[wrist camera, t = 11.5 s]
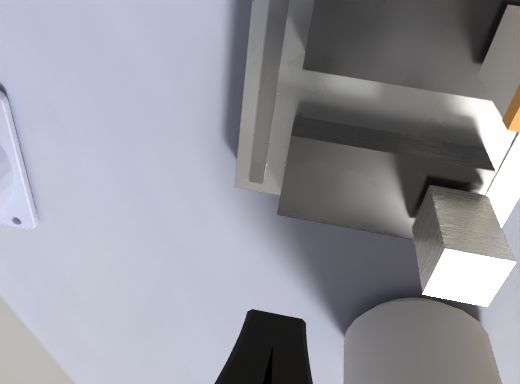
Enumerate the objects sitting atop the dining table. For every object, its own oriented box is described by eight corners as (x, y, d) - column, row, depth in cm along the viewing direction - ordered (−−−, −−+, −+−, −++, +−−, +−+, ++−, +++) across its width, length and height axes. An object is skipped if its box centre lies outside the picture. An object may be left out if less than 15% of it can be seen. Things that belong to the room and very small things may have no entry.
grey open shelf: (241, 167, 21) (205, 273, 15) (297, -386, 11) (251, -600, 6) (488, 212, 20) (536, 338, 15) (783, -333, 10) (1230, -522, 5)
